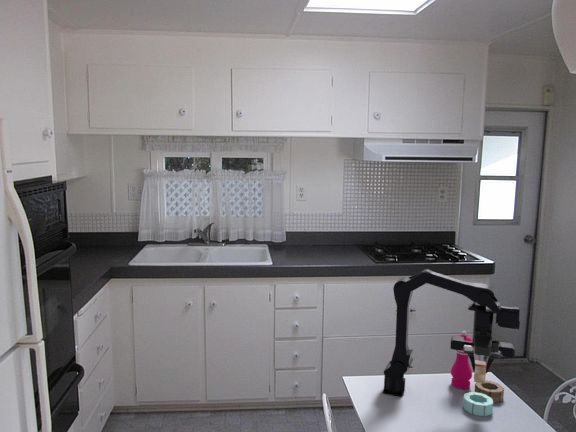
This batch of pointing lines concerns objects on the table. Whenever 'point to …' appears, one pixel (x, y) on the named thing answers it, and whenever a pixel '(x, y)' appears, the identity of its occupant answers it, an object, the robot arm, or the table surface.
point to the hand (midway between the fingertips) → (479, 372)
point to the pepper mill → (461, 367)
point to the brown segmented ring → (490, 390)
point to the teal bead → (478, 404)
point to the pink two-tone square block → (480, 371)
